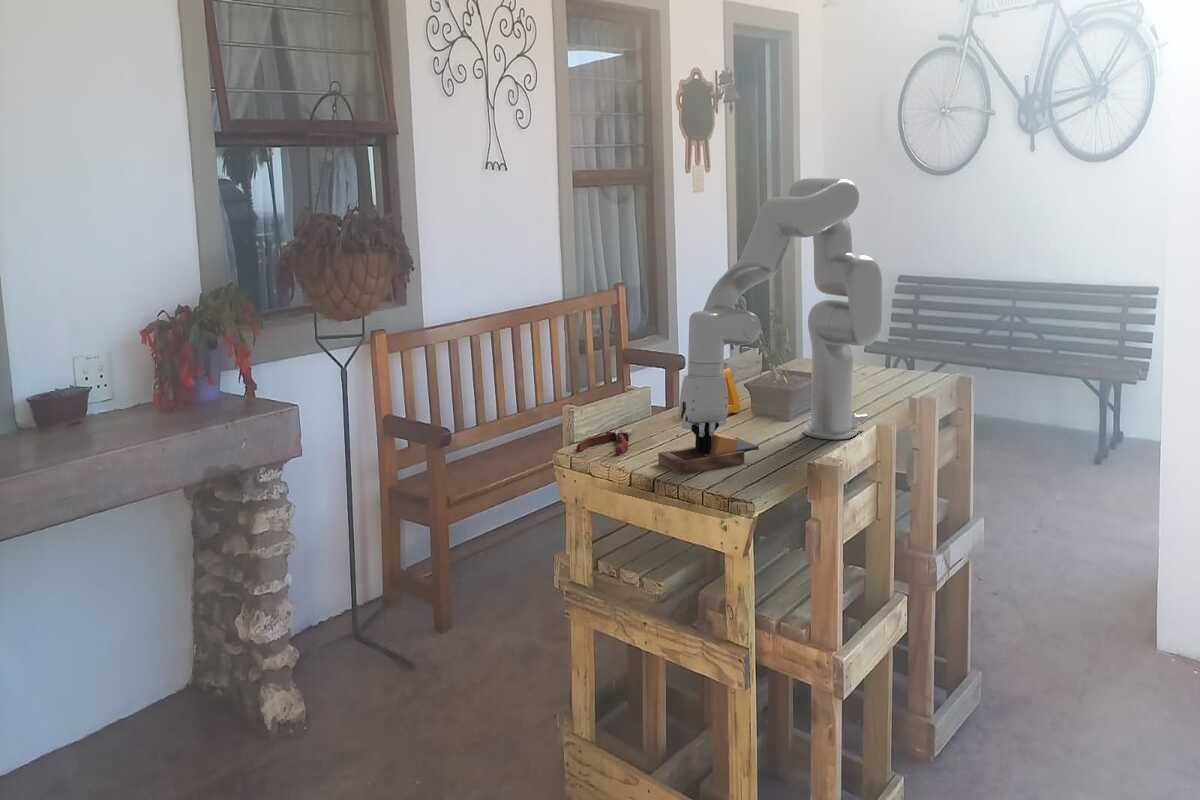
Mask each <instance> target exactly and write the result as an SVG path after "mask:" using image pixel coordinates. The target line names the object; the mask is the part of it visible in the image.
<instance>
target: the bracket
mask: <svg viewBox="0 0 1200 800" xmlns="http://www.w3.org/2000/svg"><path fill="white" fill-rule="evenodd" d="M723 375H725V377H726V383H727V390H728V414H731V413H735V412H739V411H741V401H740V398H739V397H740V396H739V395H738V391H737V387H736V383H735V380H734V376H733V373H732V370H731V369H730V368H729V367H728V368H727V369H724V373H723Z"/></svg>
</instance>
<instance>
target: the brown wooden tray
mask: <svg viewBox="0 0 1200 800" xmlns="http://www.w3.org/2000/svg"><path fill="white" fill-rule="evenodd" d="M657 455H658V465H660V466H662V467H664V468H667V469H668V470H669V471H672V472H675V474H677V475H678V474H679V475H685V474H690V473H691V474H692V473H697V472H703V471H709V470H713V469H719V468H726V467H730V466H731V467H732V466H735V465H736V466H737V465H741V464H745V451H744V452H743V451H737V452H731V453H725V454H719V455H714V456H708V457H707V456H705V455H702V454H700V453H697V452H696V448H695V446H690V447H684V448H678V449H674V450H667V451H666V450H665V451H660V452H658V453H657Z"/></svg>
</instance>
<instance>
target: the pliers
mask: <svg viewBox="0 0 1200 800" xmlns="http://www.w3.org/2000/svg"><path fill="white" fill-rule="evenodd" d="M624 429H625V428H624V427H623V428H620V429H618V430H616V431H606V432H605V434H601V435H597V436H593V437H589V438H586V439H583V440H581V441H580V442H579V443H578V444H577V446H576V452H577V453H580V452H581V451H582V452H584V451H585V450H586V449H589V448H591V447H596V446H599V445H604V444H607V443H613V442H615V441H618V445H617V446H616V448H615V456H621V455H620V454H622V455H624V454H625V453H626V451H627V452H628V450H629V443H628V442H629V441H630V438H629V437H630V435H632V433H634V432H635V429H634V428H631V429H625V430H624ZM595 445H596V446H595ZM584 449H585V450H584ZM582 452H581V453H582ZM623 453H624V454H623Z"/></svg>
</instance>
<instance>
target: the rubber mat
mask: <svg viewBox="0 0 1200 800" xmlns="http://www.w3.org/2000/svg"><path fill="white" fill-rule="evenodd" d="M734 438H735V439H738V444H737V448H736V452H737V451H743V452H744V453H745V452H748V451H754V450H759V446H758V445H756V444H753V443H751V442H750V441H746V440H744V439H741V438H738V437H734Z"/></svg>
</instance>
